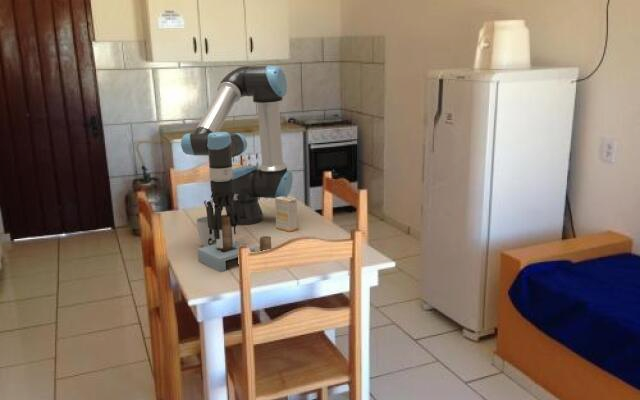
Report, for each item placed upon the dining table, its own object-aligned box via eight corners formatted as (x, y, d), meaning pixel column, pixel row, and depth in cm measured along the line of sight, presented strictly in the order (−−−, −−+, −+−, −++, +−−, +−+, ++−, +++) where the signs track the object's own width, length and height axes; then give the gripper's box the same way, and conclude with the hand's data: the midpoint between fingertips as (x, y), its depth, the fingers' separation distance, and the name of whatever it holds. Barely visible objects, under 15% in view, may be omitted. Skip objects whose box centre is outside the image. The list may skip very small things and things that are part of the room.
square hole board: (198, 261, 193) (197, 248, 192) (231, 251, 202) (231, 239, 201) (220, 271, 183) (220, 258, 182) (255, 260, 192) (254, 248, 191)
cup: (209, 249, 204) (207, 223, 202) (193, 246, 208) (191, 220, 206) (224, 243, 211) (223, 218, 208) (208, 240, 215) (206, 215, 212)
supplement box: (298, 229, 226) (297, 198, 223) (289, 232, 223) (288, 200, 219) (284, 225, 231) (283, 195, 228) (275, 228, 228) (274, 197, 225)
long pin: (218, 255, 192) (215, 216, 189) (228, 252, 195) (225, 214, 191) (224, 258, 190) (222, 218, 186) (234, 255, 192) (232, 216, 189)
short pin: (258, 253, 199) (257, 237, 198) (266, 251, 202) (266, 235, 200) (264, 256, 196) (264, 240, 195) (273, 253, 199) (273, 237, 198)
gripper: (205, 185, 177) (210, 254, 183) (249, 176, 188) (252, 242, 194) (193, 181, 182) (198, 249, 188) (236, 173, 194) (239, 237, 200)
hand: (225, 245), depth 191 cm, fingers closed on long pin, 4 cm apart
